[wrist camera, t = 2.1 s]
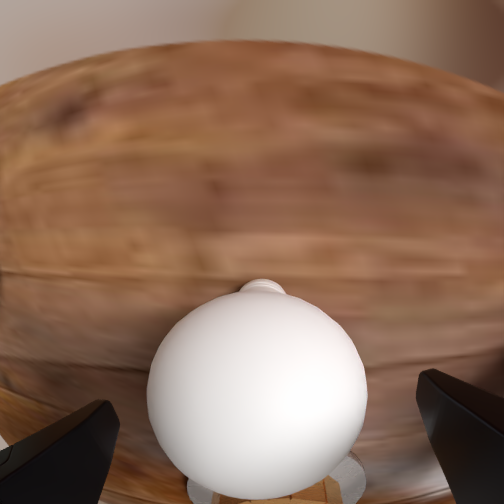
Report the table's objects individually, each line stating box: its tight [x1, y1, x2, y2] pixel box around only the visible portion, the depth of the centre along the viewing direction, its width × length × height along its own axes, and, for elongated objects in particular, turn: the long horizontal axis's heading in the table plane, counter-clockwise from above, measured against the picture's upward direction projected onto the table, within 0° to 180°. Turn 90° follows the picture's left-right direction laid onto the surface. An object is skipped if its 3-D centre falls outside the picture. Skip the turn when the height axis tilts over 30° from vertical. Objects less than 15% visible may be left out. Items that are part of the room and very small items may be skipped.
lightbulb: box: [147, 279, 367, 500], centre depth 11 cm, size 6×6×11 cm
